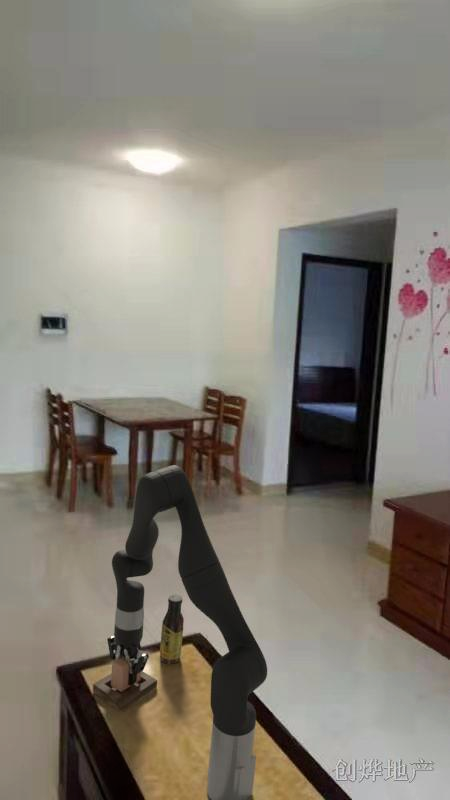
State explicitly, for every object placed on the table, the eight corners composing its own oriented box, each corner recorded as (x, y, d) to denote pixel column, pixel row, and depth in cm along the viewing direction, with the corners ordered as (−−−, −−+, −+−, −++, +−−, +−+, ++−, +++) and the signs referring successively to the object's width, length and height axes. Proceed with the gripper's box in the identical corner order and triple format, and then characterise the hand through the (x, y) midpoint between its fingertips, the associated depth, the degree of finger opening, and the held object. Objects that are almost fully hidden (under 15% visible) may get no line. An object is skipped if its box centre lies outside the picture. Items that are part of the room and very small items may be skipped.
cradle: (156, 688, 166) (157, 680, 165) (121, 711, 156) (121, 703, 155) (128, 671, 172) (129, 663, 172) (92, 692, 162) (93, 683, 162)
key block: (121, 691, 160) (122, 667, 158) (110, 685, 162) (112, 661, 161) (140, 679, 165) (141, 656, 164) (130, 673, 167) (131, 650, 166)
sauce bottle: (156, 654, 181) (160, 592, 178) (176, 651, 184) (180, 590, 180) (163, 667, 175) (168, 603, 172) (184, 663, 178) (188, 600, 174)
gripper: (100, 616, 162) (97, 674, 165) (137, 637, 153) (134, 698, 156) (121, 606, 168) (118, 663, 170) (158, 626, 159) (154, 685, 162)
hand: (125, 679), depth 163 cm, fingers closed on key block, 4 cm apart
